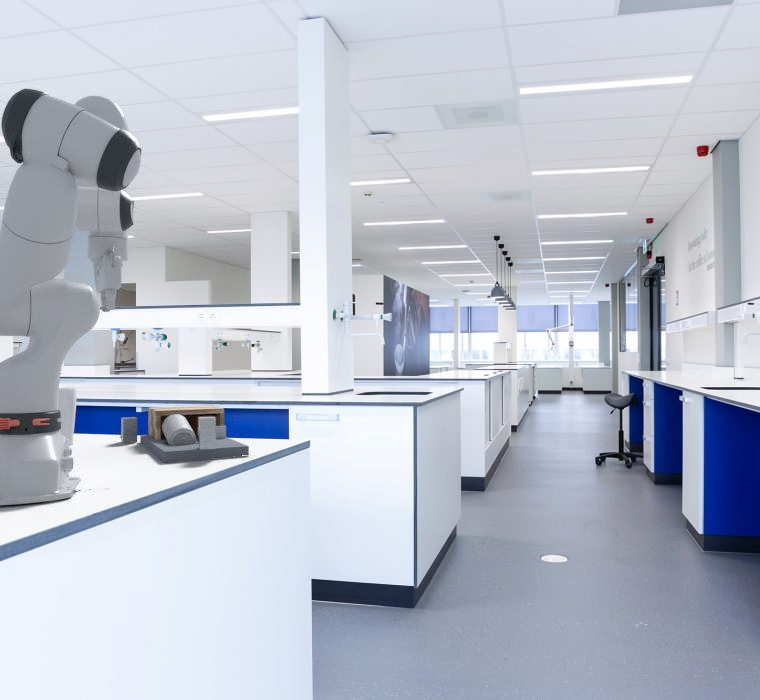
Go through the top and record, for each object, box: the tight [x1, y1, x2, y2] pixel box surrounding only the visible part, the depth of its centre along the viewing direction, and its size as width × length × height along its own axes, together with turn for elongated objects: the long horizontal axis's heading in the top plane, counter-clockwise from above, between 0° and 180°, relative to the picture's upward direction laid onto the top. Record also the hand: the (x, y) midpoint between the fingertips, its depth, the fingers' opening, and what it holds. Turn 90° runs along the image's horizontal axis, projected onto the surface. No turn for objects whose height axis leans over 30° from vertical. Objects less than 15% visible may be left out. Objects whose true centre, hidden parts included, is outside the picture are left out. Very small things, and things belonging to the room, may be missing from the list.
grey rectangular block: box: [197, 417, 227, 450], centre depth 168 cm, size 21×8×7 cm, turn 19°
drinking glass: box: [58, 387, 77, 447], centre depth 179 cm, size 7×7×15 cm
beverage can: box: [162, 414, 196, 445], centre depth 171 cm, size 6×6×12 cm
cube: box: [188, 414, 214, 435], centre depth 186 cm, size 5×5×5 cm
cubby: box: [147, 404, 225, 440], centre depth 183 cm, size 12×17×7 cm
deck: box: [139, 434, 250, 464], centre depth 173 cm, size 34×19×2 cm, turn 28°
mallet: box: [119, 416, 138, 444], centre depth 188 cm, size 14×4×7 cm, turn 28°
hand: (108, 310), depth 163 cm, fingers open, 8 cm apart
